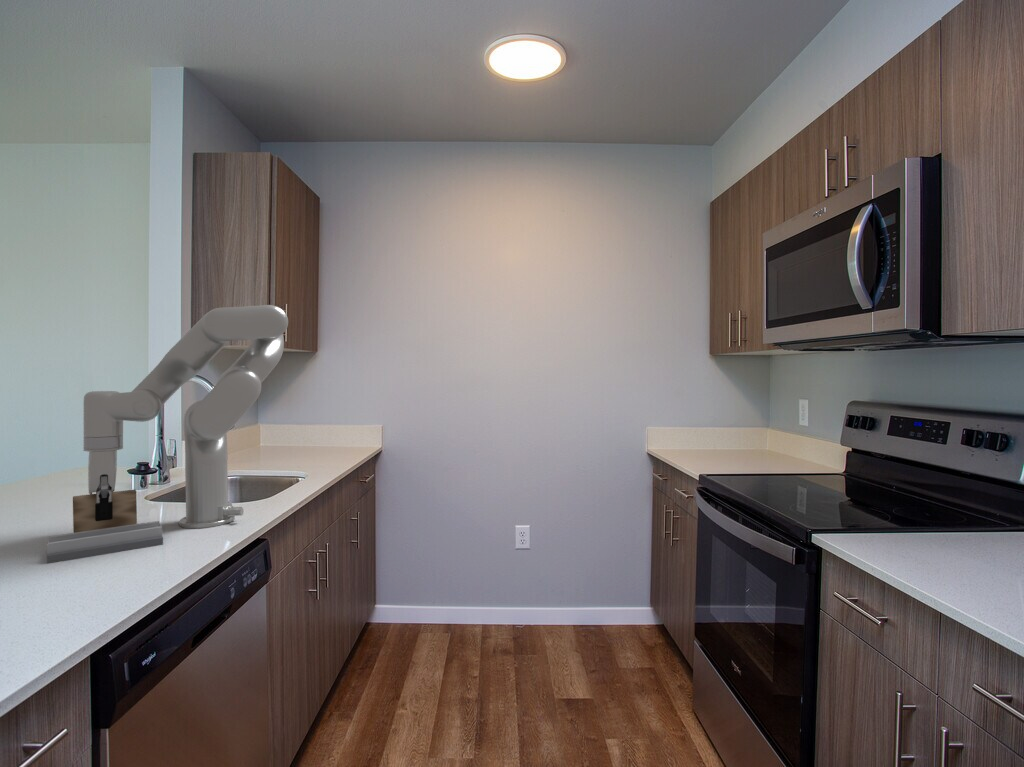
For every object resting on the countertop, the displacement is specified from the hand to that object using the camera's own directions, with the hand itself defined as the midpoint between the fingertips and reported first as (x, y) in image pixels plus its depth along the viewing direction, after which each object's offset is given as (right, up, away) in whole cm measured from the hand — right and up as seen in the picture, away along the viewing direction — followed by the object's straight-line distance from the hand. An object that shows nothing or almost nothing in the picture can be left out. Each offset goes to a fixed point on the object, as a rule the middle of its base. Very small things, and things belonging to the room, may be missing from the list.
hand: (103, 515), depth 130 cm
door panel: (0, -5, 0) cm, 5 cm away
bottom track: (+7, -5, -8) cm, 12 cm away
